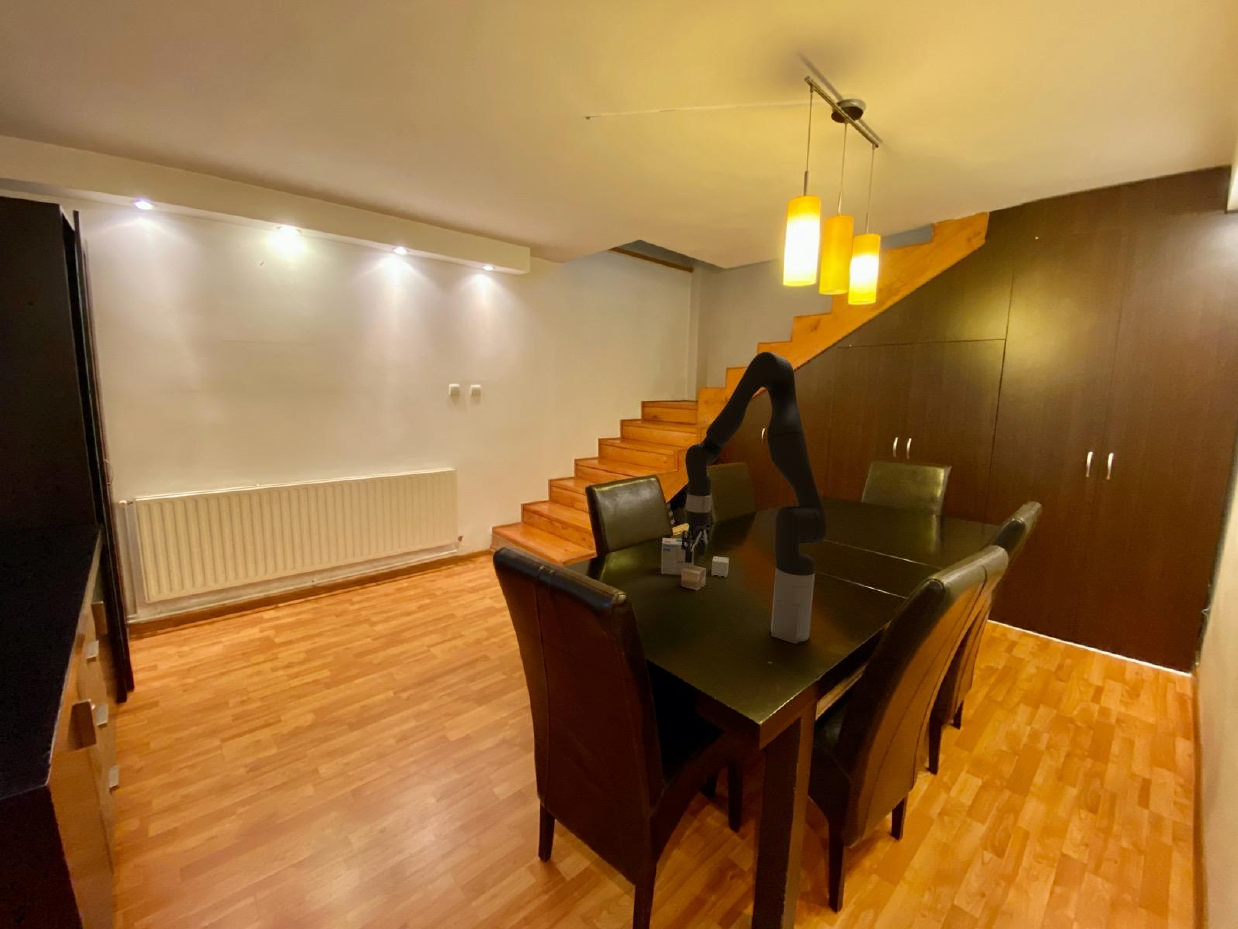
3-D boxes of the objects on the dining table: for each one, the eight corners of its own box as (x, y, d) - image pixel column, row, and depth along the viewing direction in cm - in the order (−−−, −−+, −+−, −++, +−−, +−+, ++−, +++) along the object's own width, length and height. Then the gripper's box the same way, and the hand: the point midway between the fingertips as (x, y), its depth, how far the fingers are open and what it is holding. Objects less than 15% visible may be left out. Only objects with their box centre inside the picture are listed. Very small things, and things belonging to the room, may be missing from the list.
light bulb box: (692, 569, 170) (693, 538, 168) (693, 576, 163) (694, 544, 162) (660, 567, 171) (662, 537, 169) (660, 574, 164) (661, 543, 163)
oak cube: (696, 590, 152) (697, 573, 151) (681, 586, 155) (682, 569, 154) (705, 585, 156) (706, 568, 156) (689, 581, 160) (690, 564, 159)
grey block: (726, 577, 164) (727, 562, 163) (711, 575, 165) (712, 561, 164) (727, 572, 168) (728, 558, 167) (713, 570, 170) (713, 556, 169)
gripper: (697, 515, 144) (694, 568, 147) (719, 506, 156) (716, 555, 158) (675, 510, 149) (673, 562, 152) (698, 502, 160) (695, 550, 163)
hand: (695, 558), depth 155 cm, fingers open, 8 cm apart
